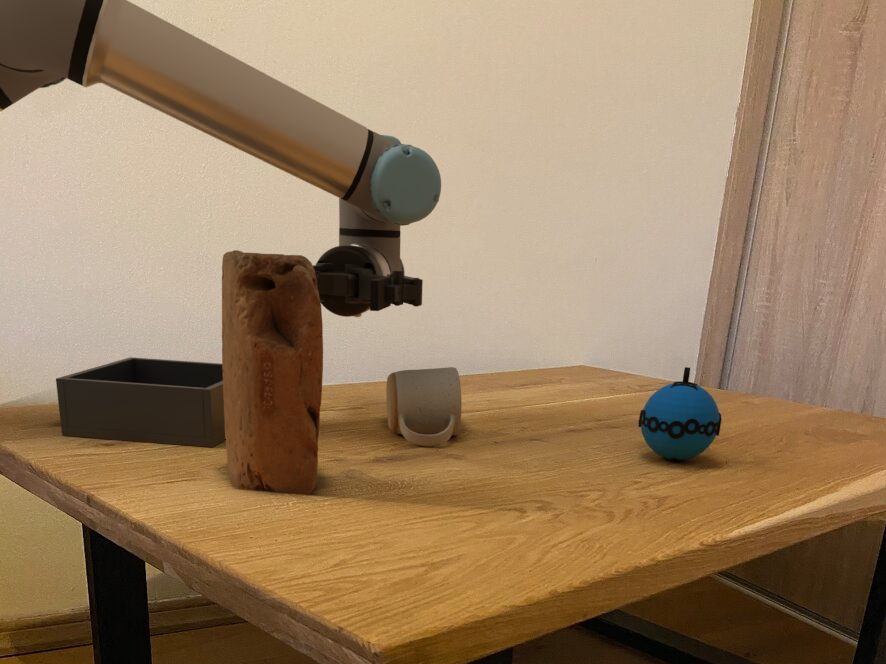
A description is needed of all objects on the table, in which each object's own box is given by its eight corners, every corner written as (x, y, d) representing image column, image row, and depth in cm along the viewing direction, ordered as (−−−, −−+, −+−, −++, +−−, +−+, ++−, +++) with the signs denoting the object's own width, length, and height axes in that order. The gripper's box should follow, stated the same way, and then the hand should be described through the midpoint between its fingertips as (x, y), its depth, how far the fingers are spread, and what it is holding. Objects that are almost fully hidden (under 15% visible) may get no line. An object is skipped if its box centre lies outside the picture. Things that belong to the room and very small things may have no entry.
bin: (61, 435, 98) (55, 378, 96) (134, 406, 115) (130, 357, 112) (212, 447, 97) (210, 389, 95) (264, 416, 113) (263, 366, 111)
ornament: (712, 473, 97) (728, 376, 94) (630, 463, 99) (642, 368, 96) (715, 456, 105) (730, 366, 101) (639, 447, 107) (650, 359, 103)
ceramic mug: (383, 426, 111) (385, 361, 108) (451, 427, 112) (454, 362, 109) (393, 448, 101) (395, 377, 98) (466, 449, 102) (470, 378, 99)
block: (223, 474, 87) (213, 247, 79) (301, 471, 90) (299, 250, 82) (244, 507, 78) (235, 253, 70) (331, 502, 80) (331, 256, 73)
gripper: (458, 320, 106) (433, 341, 87) (247, 308, 109) (176, 325, 89) (461, 250, 103) (436, 255, 84) (245, 239, 106) (171, 242, 86)
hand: (302, 291), depth 86 cm, fingers open, 13 cm apart
